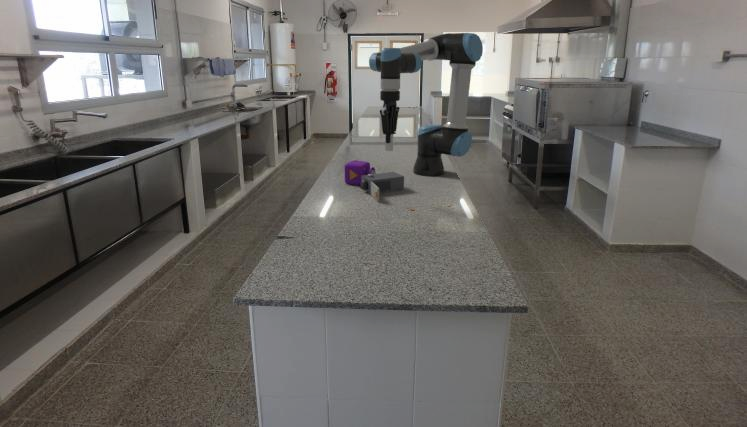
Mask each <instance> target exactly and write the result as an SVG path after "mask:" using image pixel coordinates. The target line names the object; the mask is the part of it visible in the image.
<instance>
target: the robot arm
mask: <svg viewBox="0 0 747 427" xmlns="http://www.w3.org/2000/svg"><path fill="white" fill-rule="evenodd" d="M483 49H484V48H483V41H482V40H481V37H480V36H479V35H478V34H477V33H472V32H458V33H457V32H456V33H454V32H451V33H450V32H448V33H447V32H446V33H443V34H439V35H435V36H432V37H428V38H426V39H424V40H423V42H419V43H415V44H411V45H408V46H403V47H384V48H382V49H381V51H379V52H378V51H377V52H373V53H371V54H370V56H369V58H368V65H369V68H370V69H371V70H372V71H373V72H378V73H380V81H379V83H380V92H379V93H380V95H379V96H380V101H383V104H382V107H383V108H382V109H380V110H379V114H380V119H381V130H382V134H383V135H385V143H384V144H385V145H384V146H385V151H387V152H393V151H394V135H396V134H397V127H398V119H399V112H400V107H399V106H397V105H398V104H397V102H398V101H400V99H401V91H400V89H401V74H414V73H418V72H419V71H420V70H421V69H422V65H423V64H422V63H423V61H426V60H427V61H431V62H432V61H434V60H437V61H438V60H439V61H449V66H450V67H451V74H450V75H451V78H450V86H449V97H448V106H447V116H446V123H444V124H430V125H423V126H420V127H419V128H418V133H417V157H416V159H415V162H414V165H413V168H412V169H413V170H412V171H413V173H414V174H415V175H419V176H425V177H426V176H429V177H430V176H431V177H432V176H433V177H434V176H441V175H443V174H445V167H444V163H443V159H442V155H446V156H452V157H460V158H461V157H464V156H466V154H468V152H469V151H470V149H471V147H472V143H473V137H472V134H471V133H470V132H469V127H468V126H467V124H466V123H467V122H466V121H467V113H468V104H469V96H470V95H469V94H470V87H471V86H470V84H471V78H472V70H473V69H474V68H475V67H476V63H477V62H478V61H480V60H481V59H482V58H481V57H482V56H483V52H484V51H483Z"/></svg>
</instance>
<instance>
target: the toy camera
mask: <svg viewBox="0 0 747 427" xmlns="http://www.w3.org/2000/svg"><path fill="white" fill-rule="evenodd" d="M368 174H376V169H375V167H371V163H370V162H369V161H364V160H357V159H355V158H354V159H352V160H351V161H349V162H347V163H345V165H344V182H345V184H349V185H354V186H361V176H362V175H368Z"/></svg>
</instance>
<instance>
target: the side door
mask: <svg viewBox="0 0 747 427" xmlns="http://www.w3.org/2000/svg"><path fill="white" fill-rule="evenodd" d="M370 195H371V196H372V197H373V198H374V199H375V200H376V201H377V202H378V201H380V193H379V188H378V187H377V186H376V185H375V184H374V183H373V181H371V194H370Z"/></svg>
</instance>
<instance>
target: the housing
mask: <svg viewBox="0 0 747 427" xmlns="http://www.w3.org/2000/svg"><path fill="white" fill-rule="evenodd" d="M371 181H373V183H374V184H375V185H376V186H377V187H378V188H379V194H382V193H383V194H384V193H390V192H399V191H404V190H405V176H404V175H402V174H400V173H397V172H396V171H391V172H380V173H375V174H368V175H362V176H361V185H360V188H361V189H360V190H362V191H365V192H366V193H368V194H369V195H371Z"/></svg>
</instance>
